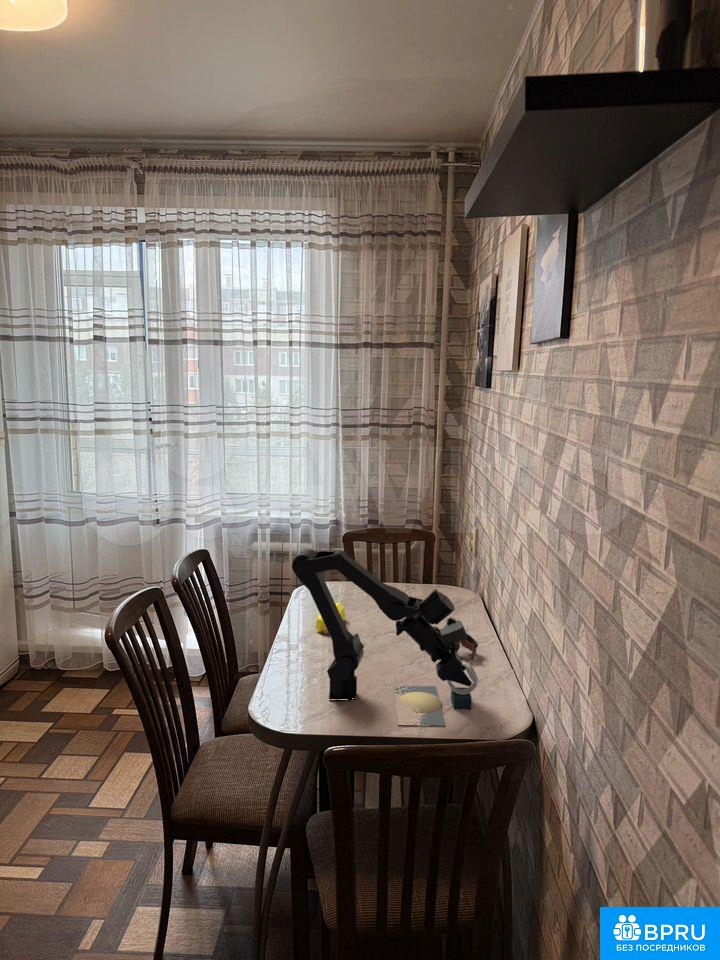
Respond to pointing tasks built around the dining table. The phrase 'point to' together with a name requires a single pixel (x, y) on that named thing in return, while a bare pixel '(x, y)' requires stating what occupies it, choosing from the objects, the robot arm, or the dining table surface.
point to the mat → (424, 703)
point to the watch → (463, 690)
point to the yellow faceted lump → (320, 623)
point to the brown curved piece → (467, 645)
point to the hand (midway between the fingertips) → (467, 677)
